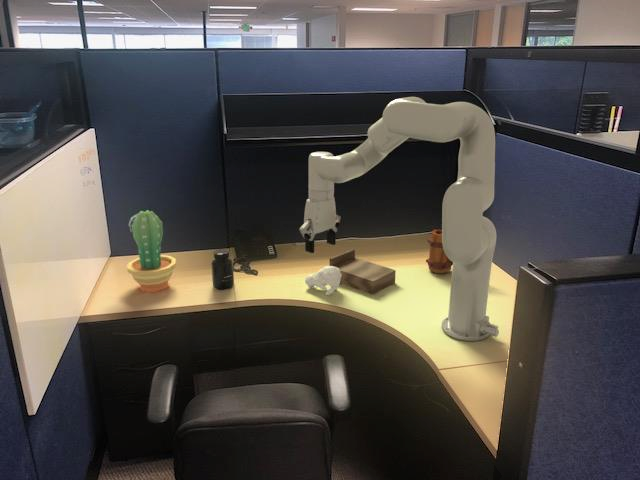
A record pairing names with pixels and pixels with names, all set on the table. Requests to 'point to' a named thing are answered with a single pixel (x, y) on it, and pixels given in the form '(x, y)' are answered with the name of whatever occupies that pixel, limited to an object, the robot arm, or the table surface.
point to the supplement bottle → (222, 270)
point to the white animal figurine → (325, 279)
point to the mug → (438, 254)
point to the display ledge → (362, 273)
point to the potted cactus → (149, 253)
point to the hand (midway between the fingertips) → (320, 247)
